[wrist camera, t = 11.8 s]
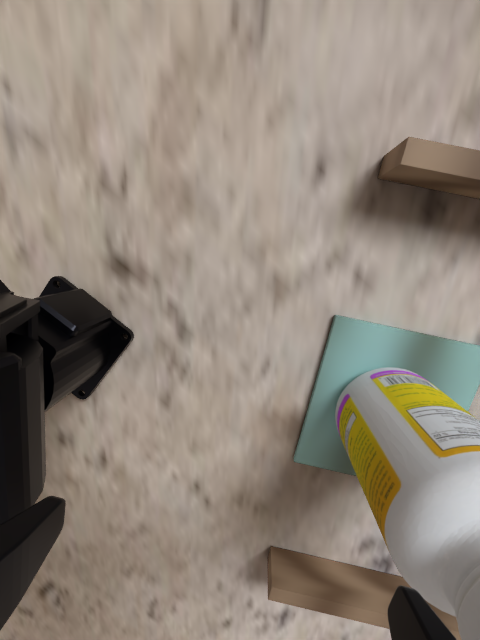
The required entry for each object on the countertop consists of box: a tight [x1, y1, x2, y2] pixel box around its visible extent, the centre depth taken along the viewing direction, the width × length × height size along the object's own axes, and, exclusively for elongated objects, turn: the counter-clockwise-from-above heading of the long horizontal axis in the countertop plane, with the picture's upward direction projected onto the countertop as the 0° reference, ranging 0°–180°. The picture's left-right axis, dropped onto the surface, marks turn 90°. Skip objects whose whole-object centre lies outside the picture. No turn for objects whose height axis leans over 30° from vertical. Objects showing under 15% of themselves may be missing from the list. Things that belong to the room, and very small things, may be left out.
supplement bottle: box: [335, 367, 480, 640], centre depth 14 cm, size 7×7×13 cm
